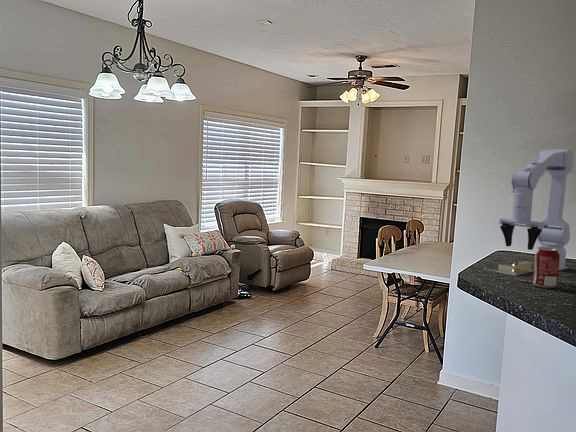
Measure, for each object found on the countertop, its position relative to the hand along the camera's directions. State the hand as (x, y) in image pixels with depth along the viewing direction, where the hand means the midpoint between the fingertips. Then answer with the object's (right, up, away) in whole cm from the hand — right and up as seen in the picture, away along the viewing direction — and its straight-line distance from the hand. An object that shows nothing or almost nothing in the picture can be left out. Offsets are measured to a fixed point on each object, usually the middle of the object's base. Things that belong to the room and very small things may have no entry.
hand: (519, 247), depth 171 cm
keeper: (-3, -9, +10) cm, 14 cm away
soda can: (+2, -12, -12) cm, 17 cm away
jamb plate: (+1, -9, +12) cm, 15 cm away
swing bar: (+5, -8, +9) cm, 13 cm away
